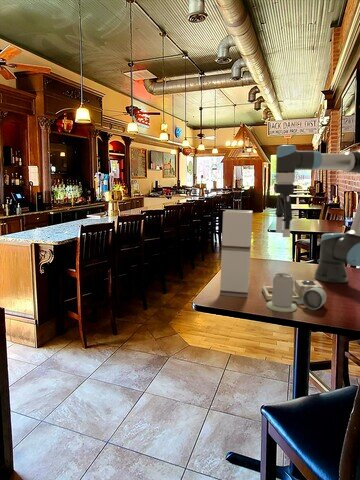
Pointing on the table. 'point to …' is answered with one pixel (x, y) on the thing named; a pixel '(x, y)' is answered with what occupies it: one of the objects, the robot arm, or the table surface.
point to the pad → (280, 309)
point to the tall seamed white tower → (236, 253)
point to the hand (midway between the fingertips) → (282, 234)
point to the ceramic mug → (313, 298)
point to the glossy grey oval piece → (308, 282)
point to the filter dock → (297, 290)
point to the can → (282, 290)
